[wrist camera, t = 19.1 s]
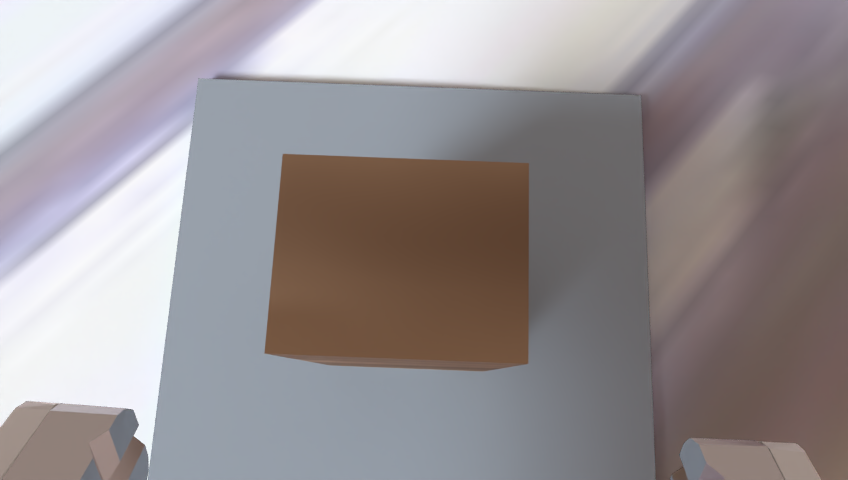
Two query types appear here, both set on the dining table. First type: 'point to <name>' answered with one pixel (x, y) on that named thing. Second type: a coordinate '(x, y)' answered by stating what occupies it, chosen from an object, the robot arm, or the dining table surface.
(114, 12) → the dining table surface
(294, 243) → the walnut block
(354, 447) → the rubber mat
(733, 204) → the dining table surface
